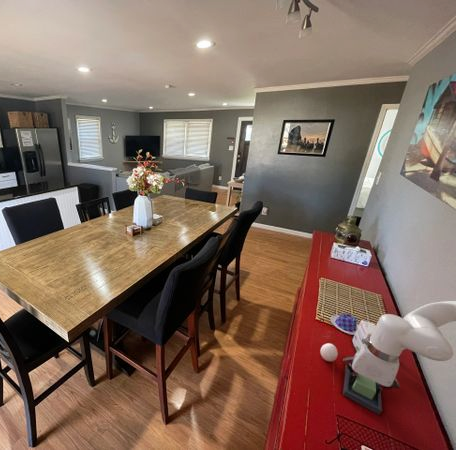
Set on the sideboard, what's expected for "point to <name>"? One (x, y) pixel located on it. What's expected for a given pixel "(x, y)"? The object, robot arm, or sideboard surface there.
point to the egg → (329, 352)
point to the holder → (355, 396)
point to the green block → (364, 386)
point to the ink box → (363, 333)
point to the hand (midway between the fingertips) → (362, 386)
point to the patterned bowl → (345, 323)
